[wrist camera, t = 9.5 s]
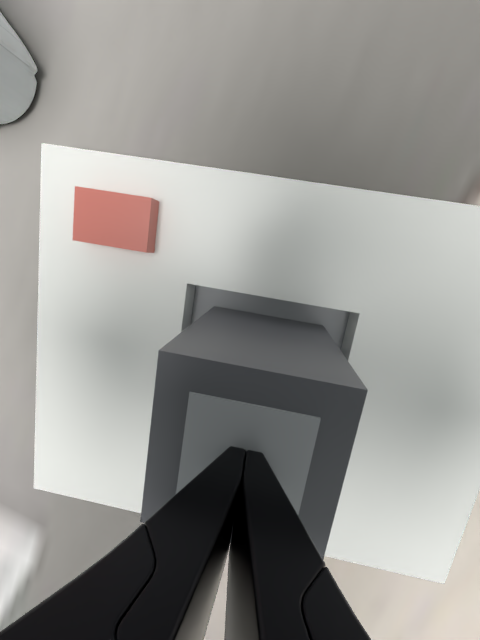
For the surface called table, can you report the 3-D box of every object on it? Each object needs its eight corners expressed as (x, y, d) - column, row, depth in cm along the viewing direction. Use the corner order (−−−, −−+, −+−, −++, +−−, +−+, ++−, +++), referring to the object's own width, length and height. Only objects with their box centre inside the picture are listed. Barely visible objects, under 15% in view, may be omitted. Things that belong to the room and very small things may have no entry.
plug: (301, 425, 15) (322, 567, 8) (199, 405, 16) (139, 523, 9) (323, 325, 14) (368, 391, 7) (214, 306, 14) (157, 351, 8)
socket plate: (424, 544, 16) (453, 603, 14) (60, 462, 18) (21, 500, 15) (534, 225, 13) (603, 217, 10) (73, 158, 14) (25, 135, 12)
